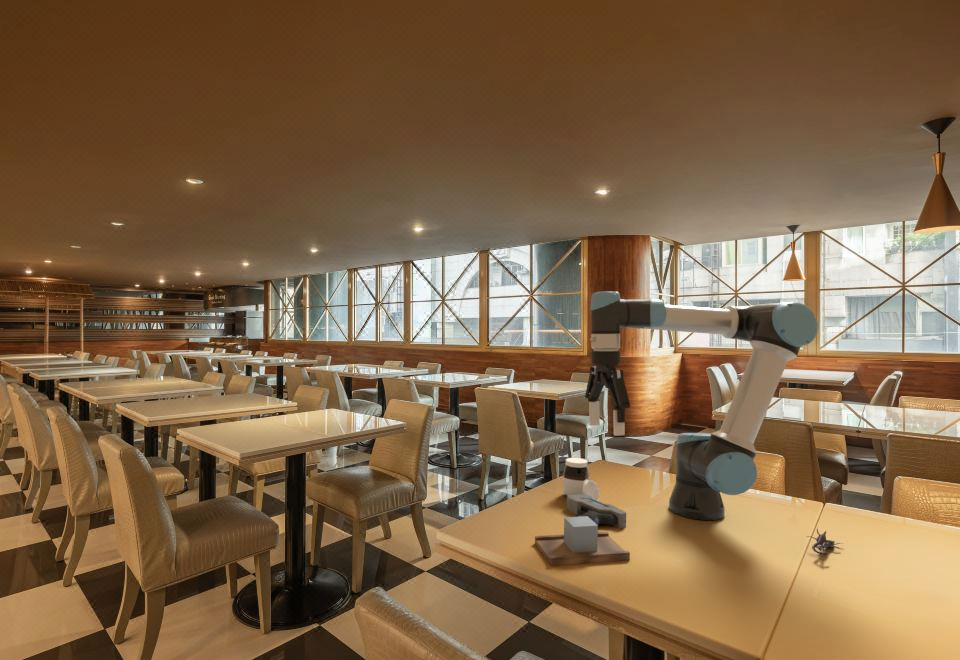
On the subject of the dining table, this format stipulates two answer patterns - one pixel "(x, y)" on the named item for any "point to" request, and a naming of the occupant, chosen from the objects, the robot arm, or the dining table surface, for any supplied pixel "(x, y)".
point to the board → (563, 555)
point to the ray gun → (596, 510)
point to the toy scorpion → (820, 541)
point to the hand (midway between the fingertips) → (606, 430)
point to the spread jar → (578, 479)
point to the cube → (580, 534)
